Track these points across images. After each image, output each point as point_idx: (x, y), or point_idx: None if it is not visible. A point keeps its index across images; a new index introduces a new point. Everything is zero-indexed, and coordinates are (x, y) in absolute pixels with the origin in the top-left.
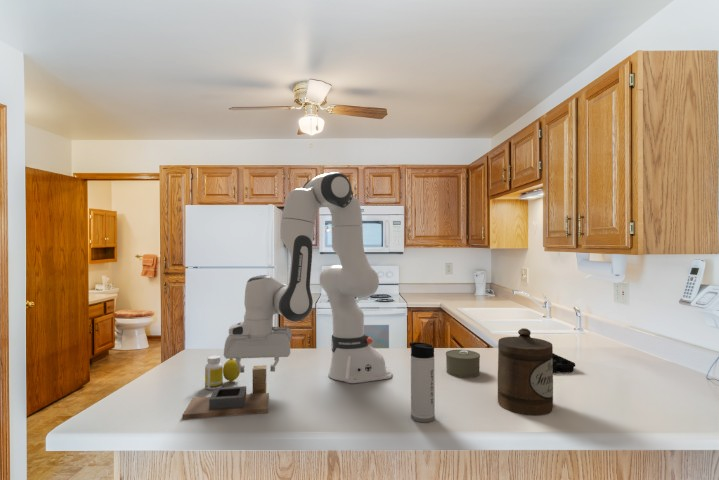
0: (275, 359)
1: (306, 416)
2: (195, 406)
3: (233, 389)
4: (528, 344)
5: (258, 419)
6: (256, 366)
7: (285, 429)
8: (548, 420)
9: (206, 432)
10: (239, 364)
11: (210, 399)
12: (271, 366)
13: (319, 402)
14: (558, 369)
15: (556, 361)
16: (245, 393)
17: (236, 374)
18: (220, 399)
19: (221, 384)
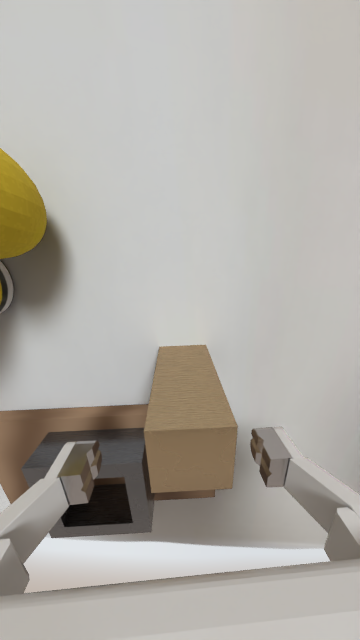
0: (339, 559)
1: (295, 501)
2: (19, 475)
3: (99, 474)
4: None
5: (195, 505)
6: (167, 444)
7: (246, 535)
8: None
9: (103, 536)
10: (42, 536)
11: (55, 537)
12: (272, 486)
13: (346, 447)
14: None
15: None
16: (147, 470)
17: (31, 243)
18: (85, 533)
19: (4, 296)
